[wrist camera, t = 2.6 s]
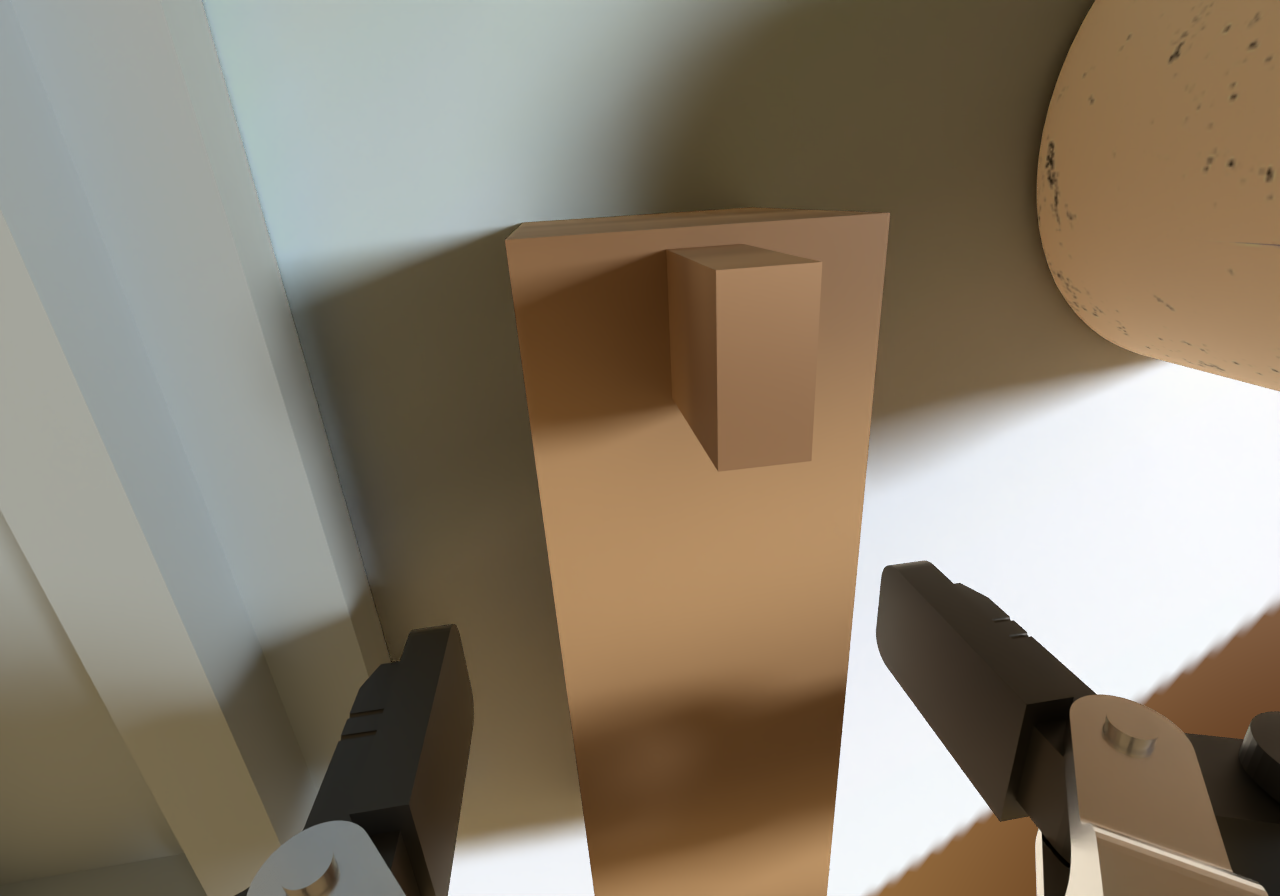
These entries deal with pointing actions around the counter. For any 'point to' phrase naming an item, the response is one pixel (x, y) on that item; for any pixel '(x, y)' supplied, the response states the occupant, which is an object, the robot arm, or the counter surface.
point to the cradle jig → (155, 477)
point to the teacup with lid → (1170, 182)
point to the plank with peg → (703, 526)
